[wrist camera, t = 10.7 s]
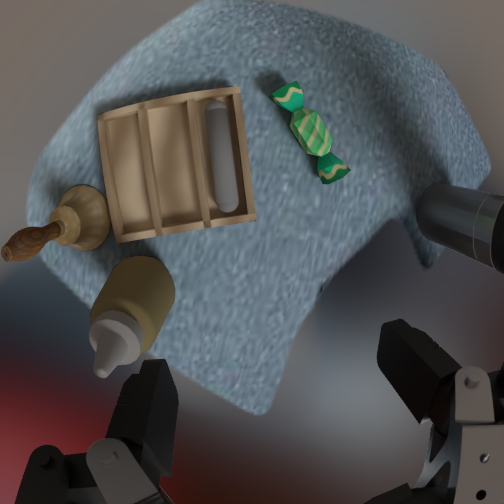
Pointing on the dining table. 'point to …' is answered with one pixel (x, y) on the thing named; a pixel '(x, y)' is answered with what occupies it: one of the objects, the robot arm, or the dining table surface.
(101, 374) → the squeeze bottle
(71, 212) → the hand bell
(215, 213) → the wooden compartment tray
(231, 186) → the grey capsule rod
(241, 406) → the dining table surface
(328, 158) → the candy
